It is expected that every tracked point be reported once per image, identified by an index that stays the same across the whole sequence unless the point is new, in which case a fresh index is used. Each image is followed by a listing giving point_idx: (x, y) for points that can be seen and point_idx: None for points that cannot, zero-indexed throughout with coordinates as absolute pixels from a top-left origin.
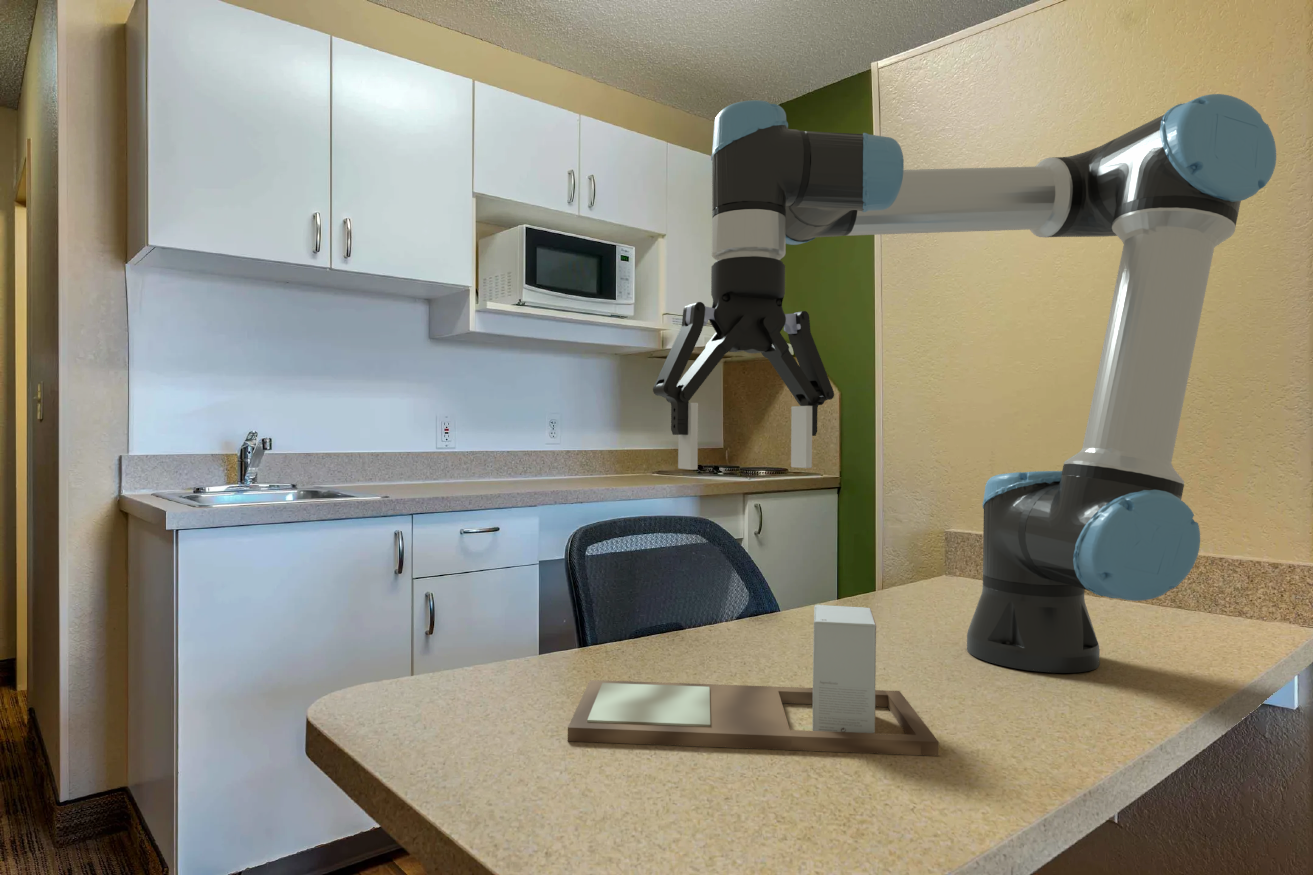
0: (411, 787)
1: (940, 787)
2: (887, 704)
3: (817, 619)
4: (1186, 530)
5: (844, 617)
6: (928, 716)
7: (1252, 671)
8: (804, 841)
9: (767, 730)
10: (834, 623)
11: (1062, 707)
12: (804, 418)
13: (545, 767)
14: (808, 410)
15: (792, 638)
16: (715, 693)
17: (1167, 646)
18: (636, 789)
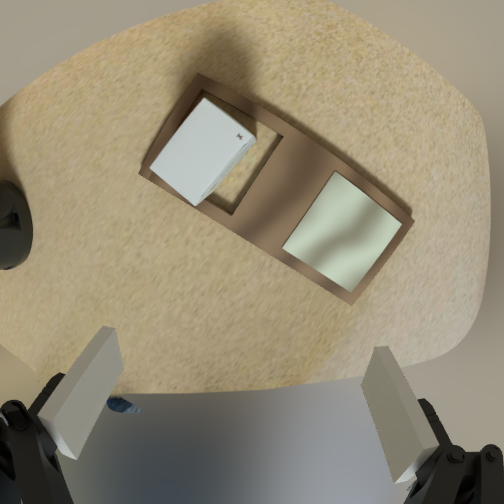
0: (485, 202)
1: (240, 40)
2: None
3: (242, 144)
4: None
5: (211, 134)
6: (144, 139)
7: None
8: (361, 37)
9: (300, 143)
10: (237, 122)
11: (55, 124)
12: (69, 403)
13: (436, 188)
14: (52, 410)
15: (123, 343)
16: (284, 234)
17: None
18: (410, 132)
